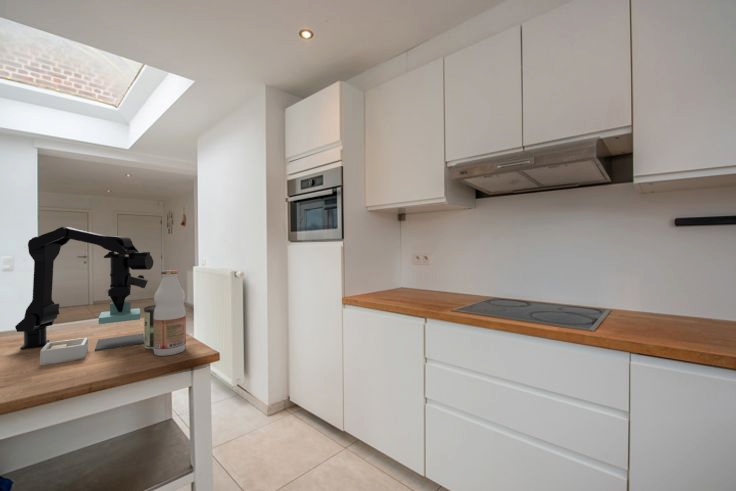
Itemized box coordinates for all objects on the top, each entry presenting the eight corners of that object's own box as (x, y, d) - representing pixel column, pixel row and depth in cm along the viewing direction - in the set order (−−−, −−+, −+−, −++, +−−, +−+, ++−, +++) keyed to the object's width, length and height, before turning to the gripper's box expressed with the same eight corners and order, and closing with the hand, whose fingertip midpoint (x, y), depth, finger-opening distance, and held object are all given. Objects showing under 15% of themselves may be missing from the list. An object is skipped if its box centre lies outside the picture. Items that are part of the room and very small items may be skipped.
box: (47, 356, 104) (47, 342, 104) (87, 350, 110) (87, 337, 110) (40, 365, 96) (40, 351, 96) (84, 358, 102) (84, 344, 102)
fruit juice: (147, 356, 104) (146, 271, 103) (164, 347, 113) (163, 269, 113) (176, 356, 104) (176, 271, 104) (191, 346, 113) (190, 269, 113)
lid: (101, 317, 120) (101, 301, 120) (139, 313, 127) (139, 298, 127) (98, 324, 110) (98, 306, 110) (140, 319, 117) (140, 302, 117)
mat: (98, 341, 120) (98, 339, 120) (143, 334, 128) (143, 333, 128) (94, 351, 109) (94, 349, 109) (144, 343, 117) (144, 341, 117)
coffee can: (183, 341, 120) (183, 304, 120) (161, 350, 110) (160, 310, 110) (161, 339, 122) (160, 303, 122) (136, 348, 112) (136, 308, 112)
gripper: (147, 270, 116) (147, 313, 116) (145, 267, 131) (146, 304, 131) (107, 272, 109) (108, 317, 109) (111, 268, 124) (111, 308, 124)
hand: (120, 311), depth 118 cm, fingers closed on lid, 2 cm apart
